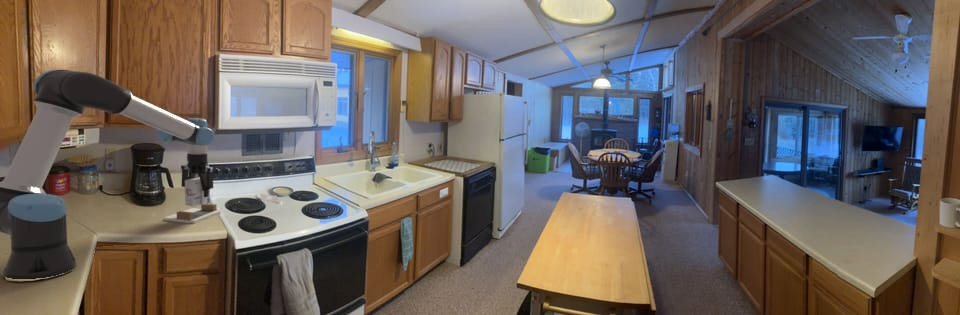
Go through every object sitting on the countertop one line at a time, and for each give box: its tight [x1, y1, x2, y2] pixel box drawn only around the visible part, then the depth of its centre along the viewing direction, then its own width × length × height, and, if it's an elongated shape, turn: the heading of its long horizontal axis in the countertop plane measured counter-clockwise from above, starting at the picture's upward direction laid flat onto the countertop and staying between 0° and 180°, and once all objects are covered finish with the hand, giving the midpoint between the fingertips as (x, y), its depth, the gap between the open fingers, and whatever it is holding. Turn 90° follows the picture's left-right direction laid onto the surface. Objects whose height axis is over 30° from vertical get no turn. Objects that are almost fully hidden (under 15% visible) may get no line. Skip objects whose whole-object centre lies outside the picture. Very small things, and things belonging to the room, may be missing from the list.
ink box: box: [184, 176, 211, 208], centre depth 187 cm, size 9×5×12 cm, turn 165°
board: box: [162, 203, 221, 224], centre depth 188 cm, size 17×14×4 cm
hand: (197, 203), depth 188 cm, fingers closed on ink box, 6 cm apart
